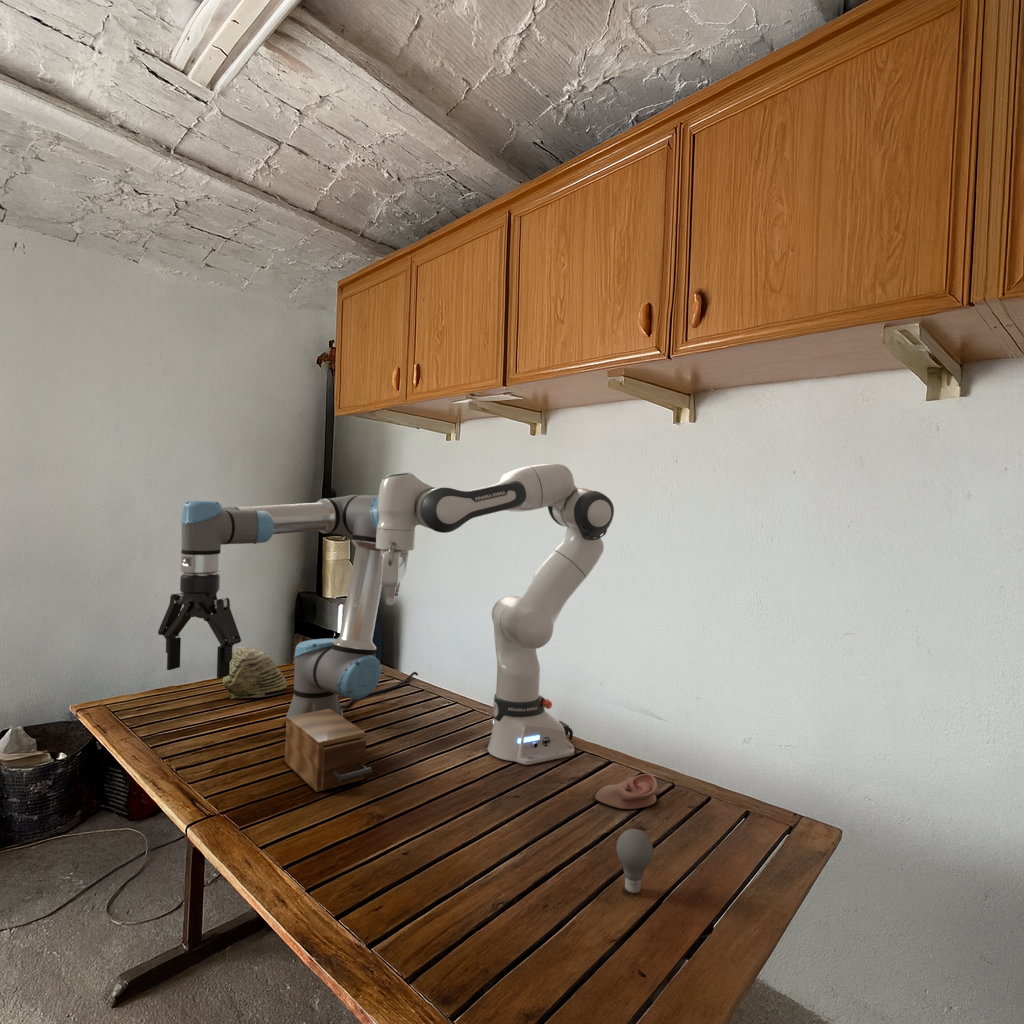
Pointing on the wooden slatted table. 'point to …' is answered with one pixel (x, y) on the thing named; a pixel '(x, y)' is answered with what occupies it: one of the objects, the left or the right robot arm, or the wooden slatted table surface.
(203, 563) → the left robot arm
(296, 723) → the cabinet
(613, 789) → the anatomical model
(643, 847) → the light bulb
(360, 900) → the wooden slatted table surface
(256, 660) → the fossil
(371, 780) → the wooden slatted table surface
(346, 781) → the drawer
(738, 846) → the wooden slatted table surface
